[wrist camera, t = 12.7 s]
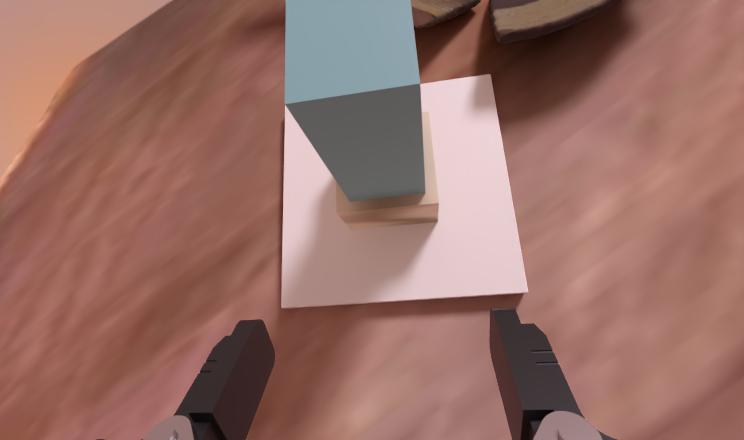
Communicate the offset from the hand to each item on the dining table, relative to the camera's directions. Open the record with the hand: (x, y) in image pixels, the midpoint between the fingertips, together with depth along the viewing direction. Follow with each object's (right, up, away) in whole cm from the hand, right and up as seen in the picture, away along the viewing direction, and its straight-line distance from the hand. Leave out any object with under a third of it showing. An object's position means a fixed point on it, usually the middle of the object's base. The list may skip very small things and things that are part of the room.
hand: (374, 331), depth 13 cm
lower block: (+1, +6, +13) cm, 15 cm away
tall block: (+1, +7, +9) cm, 12 cm away
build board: (+1, +6, +14) cm, 15 cm away
